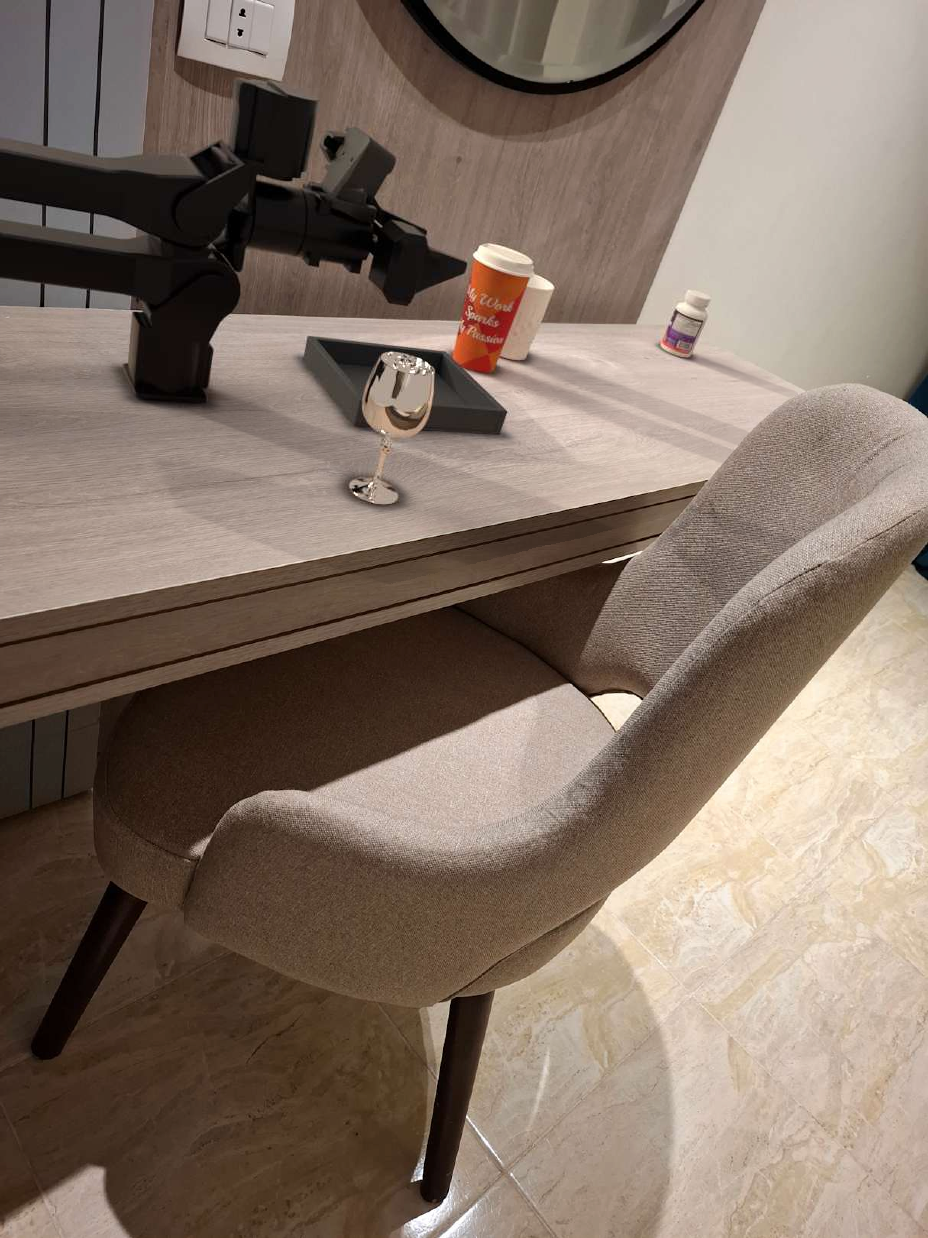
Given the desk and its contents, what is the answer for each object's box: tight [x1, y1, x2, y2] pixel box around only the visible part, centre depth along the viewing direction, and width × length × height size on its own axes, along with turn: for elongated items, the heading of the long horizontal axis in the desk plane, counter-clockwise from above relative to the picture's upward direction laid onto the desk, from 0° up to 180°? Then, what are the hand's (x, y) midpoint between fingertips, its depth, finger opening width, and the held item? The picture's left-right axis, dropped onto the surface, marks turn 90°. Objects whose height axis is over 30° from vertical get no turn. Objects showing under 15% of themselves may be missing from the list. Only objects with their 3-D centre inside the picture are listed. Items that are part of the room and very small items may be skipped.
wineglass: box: [348, 352, 435, 505], centre depth 77 cm, size 6×6×12 cm
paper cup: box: [452, 242, 536, 374], centre depth 112 cm, size 8×8×14 cm
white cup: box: [499, 274, 555, 361], centre depth 121 cm, size 8×8×10 cm
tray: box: [302, 335, 508, 435], centre depth 99 cm, size 18×16×3 cm
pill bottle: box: [660, 289, 712, 358], centre depth 148 cm, size 5×5×10 cm
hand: (445, 250), depth 89 cm, fingers open, 9 cm apart
